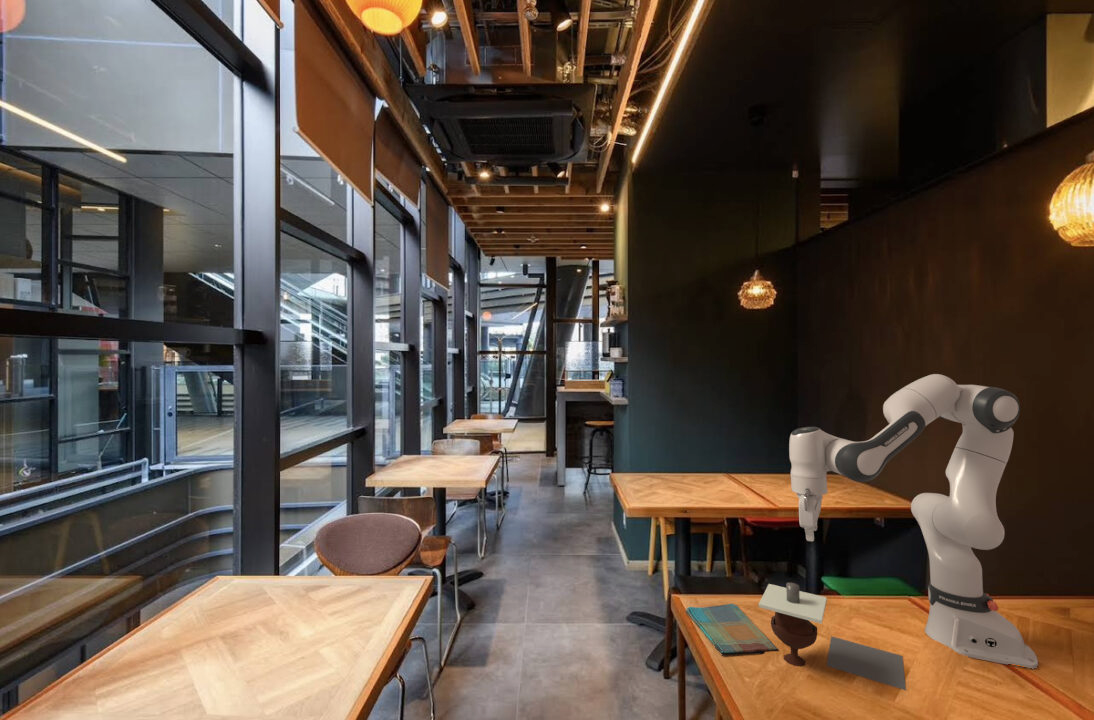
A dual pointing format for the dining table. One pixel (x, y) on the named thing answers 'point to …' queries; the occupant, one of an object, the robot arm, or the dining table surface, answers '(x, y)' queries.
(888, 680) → the mat
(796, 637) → the ice cream bowl
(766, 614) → the dining table surface
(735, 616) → the dish towel
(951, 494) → the robot arm
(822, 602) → the lid
